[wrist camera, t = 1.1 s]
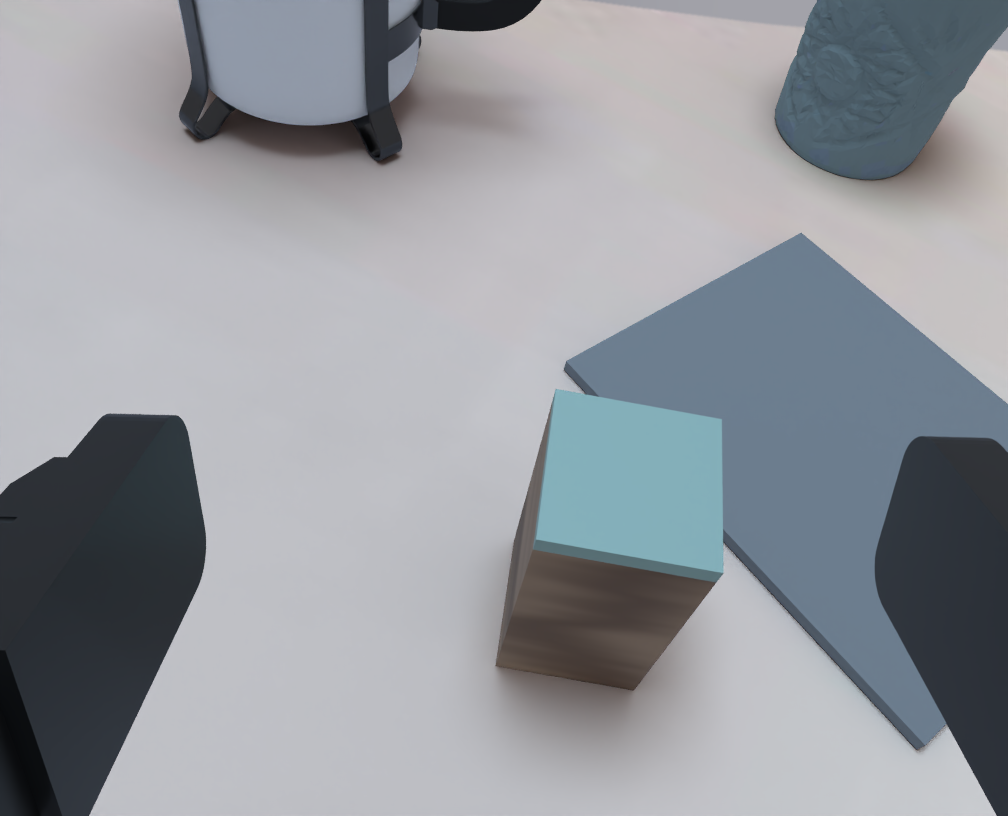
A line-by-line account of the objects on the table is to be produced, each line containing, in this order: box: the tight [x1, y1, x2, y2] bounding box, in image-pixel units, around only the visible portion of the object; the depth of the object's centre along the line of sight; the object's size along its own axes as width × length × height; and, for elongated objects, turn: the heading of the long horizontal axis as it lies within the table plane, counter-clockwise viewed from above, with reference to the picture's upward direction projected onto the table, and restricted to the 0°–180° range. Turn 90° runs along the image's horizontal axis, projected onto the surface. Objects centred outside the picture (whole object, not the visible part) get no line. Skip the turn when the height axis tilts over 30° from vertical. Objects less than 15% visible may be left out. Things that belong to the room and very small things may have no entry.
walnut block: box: [496, 389, 723, 690], centre depth 28 cm, size 5×5×10 cm
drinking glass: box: [775, 0, 1008, 180], centre depth 47 cm, size 10×10×12 cm
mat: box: [564, 233, 1008, 749], centre depth 38 cm, size 20×16×1 cm
